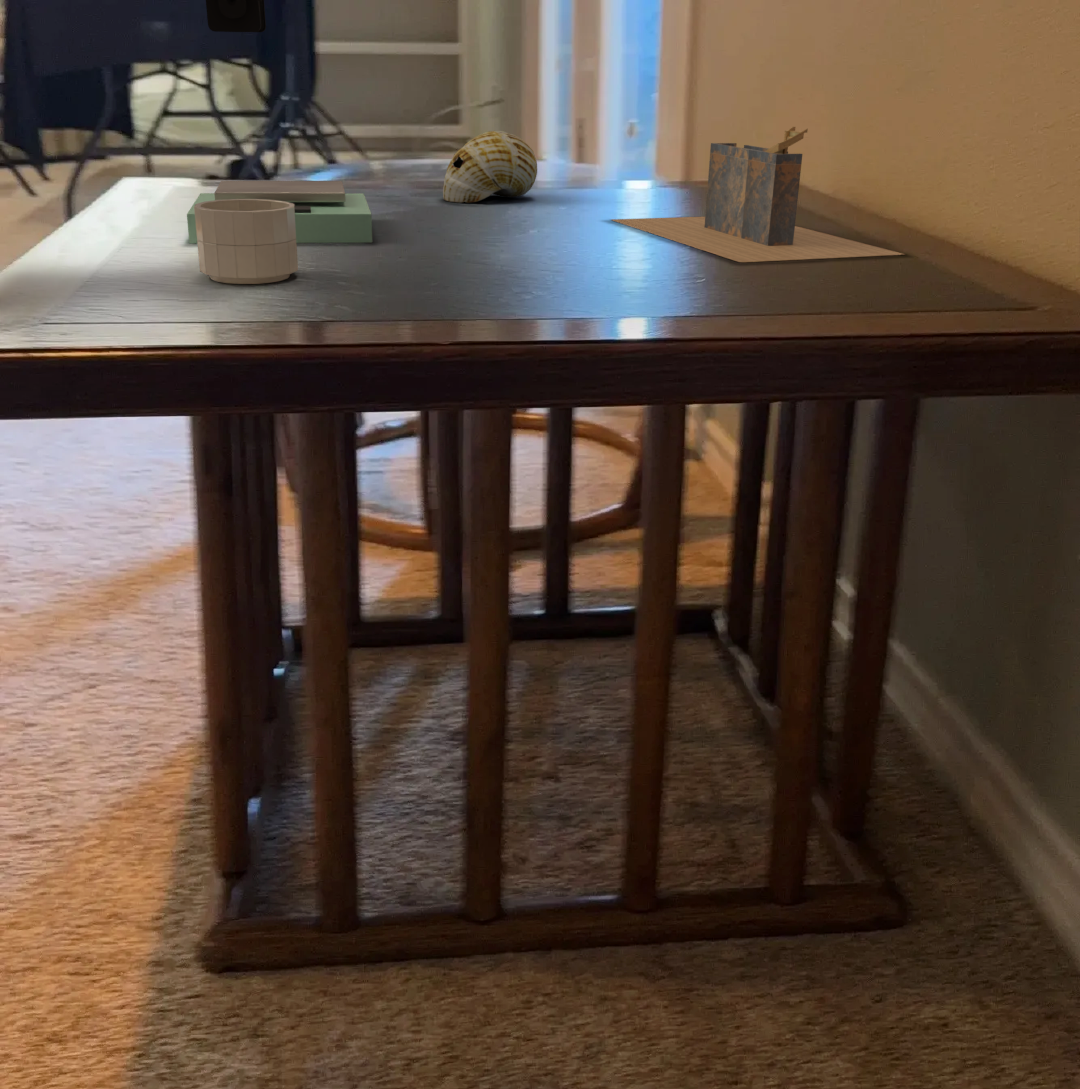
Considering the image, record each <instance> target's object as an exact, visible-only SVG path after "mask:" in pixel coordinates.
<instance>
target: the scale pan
mask: <svg viewBox="0 0 1080 1089" xmlns="http://www.w3.org/2000/svg"><path fill="white" fill-rule="evenodd" d="M213 193H214V195H215V200H228V199H265V200H278V201H286V202H345V194H346V191H345V187H344V184H343V181H342V180H221V181H220V182H219V184H218V186H217V188H216V189H215V192H213Z"/></svg>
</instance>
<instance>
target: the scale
mask: <svg viewBox="0 0 1080 1089" xmlns="http://www.w3.org/2000/svg"><path fill="white" fill-rule="evenodd" d="M214 193H215V192H207V193H206V192H200V193H199V194H198V196H197V198H196V199H195V200H194V203H193V204H192V206H191V207H190V209H189V210H188V212H187V213H186V220H187V221H186V222H187V223H186V224H187V232H188V243H189V245H191V244H192V245H198V244H197V233H196V222H195V211H194V206H195V205H196V204H197V203H201V202H206V201H214V200H215V195H214ZM289 203H293V204H294V205H295V223H296V241H297V244H371V243H372V244H373V220H372V218H373V217H372V216H373V215H372V212H371V210H370V207H369V204H368V201H367V198H366V196H365V193H345V202H289Z"/></svg>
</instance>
